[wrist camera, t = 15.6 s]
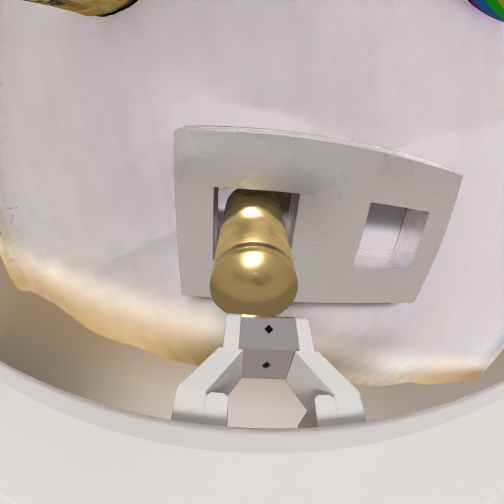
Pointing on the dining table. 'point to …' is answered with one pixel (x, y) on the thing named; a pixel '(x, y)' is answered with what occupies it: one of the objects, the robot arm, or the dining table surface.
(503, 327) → the dining table surface
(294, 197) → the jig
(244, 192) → the brass cylinder
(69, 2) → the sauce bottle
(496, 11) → the decorative egg
